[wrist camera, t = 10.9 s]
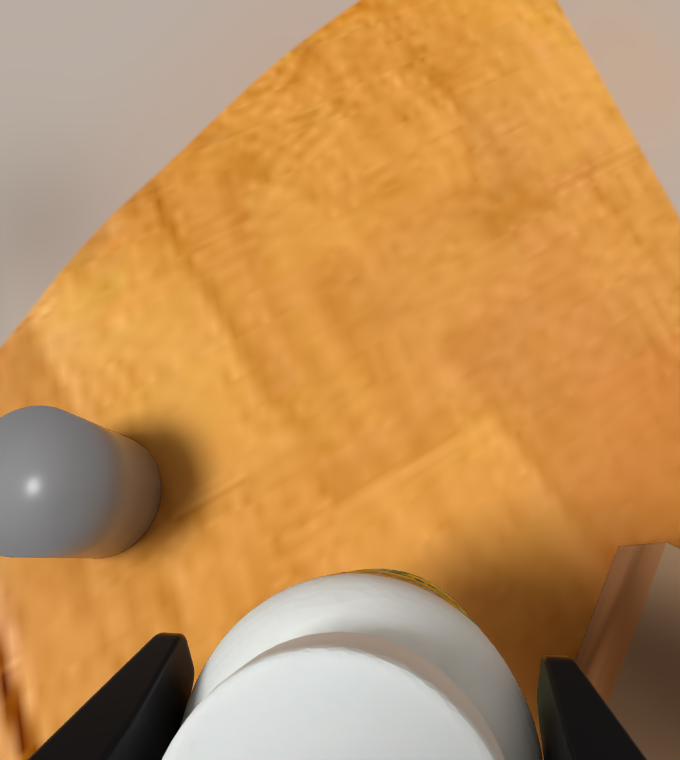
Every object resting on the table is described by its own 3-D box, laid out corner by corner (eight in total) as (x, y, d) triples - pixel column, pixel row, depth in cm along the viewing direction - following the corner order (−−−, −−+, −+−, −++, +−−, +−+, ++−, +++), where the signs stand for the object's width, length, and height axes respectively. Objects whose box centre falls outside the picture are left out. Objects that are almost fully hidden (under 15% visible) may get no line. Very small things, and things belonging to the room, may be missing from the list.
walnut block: (676, 776, 19) (749, 838, 15) (555, 710, 20) (591, 750, 16) (734, 600, 20) (817, 610, 16) (617, 546, 21) (666, 542, 17)
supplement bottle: (236, 685, 15) (-37, 867, 6) (369, 524, 16) (300, 476, 7) (398, 858, 14) (350, 1434, 5) (537, 670, 15) (728, 854, 5)
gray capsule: (89, 585, 23) (5, 591, 19) (24, 493, 25) (-69, 476, 20) (185, 496, 24) (126, 480, 19) (115, 411, 25) (45, 376, 21)
